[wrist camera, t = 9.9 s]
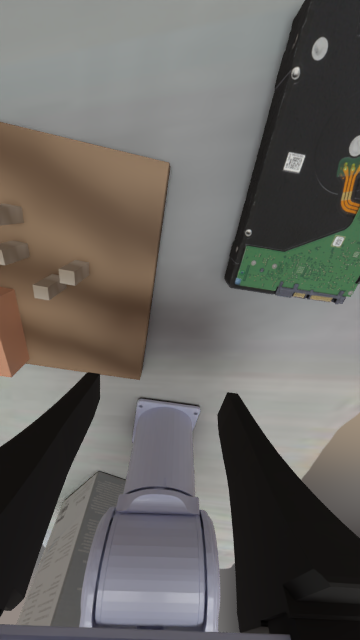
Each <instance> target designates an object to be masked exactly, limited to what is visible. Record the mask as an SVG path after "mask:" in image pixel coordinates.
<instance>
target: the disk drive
mask: <svg viewBox="0 0 360 640" xmlns="http://www.w3.org/2000/svg"><path fill="white" fill-rule="evenodd" d="M225 280H226V282H227V284H228V285H229V287H230V288H234V289H241V290H248V291H254V292H260V293H266V294H275V295H277V296H283V297H292V296H293V297H297V298H303V299H305V298H307V299H311V300H318V301H324V302H334V303H335V304H343V302H344V300H345V298H346V296H348V297H351V295H352V294H353V292H354V291H355V289H356V287H357V285H358V284H359V283H360V0H305V2H304V3H303V5H302V7H301V8H300V10H299V12H298V14H297V15H296V17H295V18H294V20H293V24H292V30H291V32H290V36H289V40H288V43H287V48H286V51H285V53H284V55H283V58H282V62H281V66H280V69H279V72H278V76H277V80H276V84H275V93H274V96H273V99H272V103H271V107H270V110H269V115H268V119H267V123H266V126H265V129H264V134H263V137H262V141H261V145H260V148H259V152H258V155H257V160H256V163H255V167H254V170H253V173H252V178H251V183H250V185H249V189H248V192H247V197H246V201H245V204H244V207H243V211H242V215H241V219H240V223H239V226H238V230H237V234H236V237H235V240H234V242H233V245H232V249H231V253H230V259H229V262H228V266H227V270H226V274H225Z"/></svg>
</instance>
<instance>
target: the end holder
mask: <svg viewBox="0 0 360 640" xmlns="http://www.w3.org/2000/svg"><path fill="white" fill-rule="evenodd" d="M28 360H29V354H28V349H27V345H26V340H25V336H24V331H23V327H22V322H21V317H20V313H19V308H18V304H17V299H16V295H15V290H14V289H10V288H4V287H0V376H6V377H12V376H13V375H14V374H15V373H16V372H17V371H18V370H19V369H20V368H21V367H22V366H23V365H24V364H25V363H26V362H27V361H28Z"/></svg>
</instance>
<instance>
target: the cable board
mask: <svg viewBox="0 0 360 640" xmlns="http://www.w3.org/2000/svg"><path fill="white" fill-rule="evenodd" d="M169 173H170V164H169V163H168V162H164V161H159V160H155V159H151V158H147V157H143V156H139V155H135V154H130V153H126V152H122V151H118V150H114V149H110V148H106V147H102V146H97V145H93V144H89V143H85V142H81V141H77V140H73V139H69V138H64V137H60V136H56V135H52V134H48V133H44V132H40V131H35V130H31V129H27V128H23V127H19V126H15V125H11V124H7V123H2V122H0V287H4V288H10V289H14V290H15V295H16V299H17V304H18V308H19V313H20V317H21V322H22V327H23V331H24V336H25V340H26V345H27V349H28V354H29V360H28V361H27V362H26V364H33V365H40V366H47V367H53V368H60V369H67V370H74V371H81V372H91V373H98V374H102V375H109V376H116V377H123V378H130V379H137V380H140V377H141V373H142V368H143V361H144V353H145V346H146V339H147V332H148V324H149V317H150V310H151V303H152V296H153V288H154V281H155V274H156V267H157V259H158V252H159V245H160V238H161V231H162V223H163V216H164V209H165V202H166V195H167V187H168V180H169Z"/></svg>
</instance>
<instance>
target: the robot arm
mask: <svg viewBox="0 0 360 640" xmlns="http://www.w3.org/2000/svg"><path fill="white" fill-rule="evenodd" d="M99 400H100V374H98V373H91V372H88V373H86V374H85V375H84V376H83V377H82V379H81V380H80V381H79V382H78V383H77V384H76V385H75V386H74V387H73V388H72V389H71V390H69V391H68V392H67V393H66V394H65V395H64V396H63V397H62V398H61V399H60V400H59V401H58V402H57V403H56V404H54V405H53V406H52V407H51V408H50V409H49V410H47V411H46V412H45V413H44V414H43V415H42V416H40V417H39V418H38V419H37V420H36V421H34V422H33V423H32V424H31V425H29V426H28V427H27V428H26V429H24V430H23V431H22V432H20V433H19V434H18V435H16V436H15V437H14V438H12V439H11V440H10V441H8V442H7V443H5V444H4V445H2V446H1V447H0V616H1V615H2V613H3V611H4V610H6V611H11V610H12V609H14V608H15V607H16V606H17V605H18V604H19V603H20V602H21V601H22V600H23V599H24V597H25V594H26V590H27V588H28V584H29V582H30V579H31V576H32V573H33V569H34V567H35V564H36V561H37V558H38V554H39V552H40V549H41V546H42V543H43V540H44V537H45V535H46V532H47V529H48V526H49V523H50V520H51V518H52V515H53V512H54V509H55V506H56V504H57V501H58V498H59V495H60V493H61V490H62V487H63V485H64V482H65V480H66V477H67V474H68V472H69V469H70V467H71V465H72V462H73V460H74V458H75V456H76V454H77V452H78V450H79V447H80V445H81V443H82V441H83V439H84V437H85V435H86V433H87V430H88V428H89V426H90V424H91V422H92V420H93V417H94V415H95V412H96V409H97V406H98V403H99ZM199 414H200V407H198V406H192V405H184V404H177V403H170V402H162V401H155V400H148V399H139V400H138V402H137V409H136V416H135V423H134V431H133V438H132V443H133V448H132V453H131V457H130V462H129V467H128V472H127V477H126V482H125V487H124V492H123V494H120V495H119V497H118V502H117V506H116V507H110V508H109V509H108V510H107V512H106V513H105V514H104V515H103V516H102V518H101V520H100V522H99V524H98V526H97V529H96V532H95V535H94V538H93V542H92V545H91V549H90V553H89V557H88V561H87V565H86V570H85V575H84V581H83V587H82V594H81V617H80V624H79V627H61V626H33V625H5V624H0V640H360V538H359V537H358V536H356V535H355V534H354V533H353V532H352V531H351V530H350V529H349V528H348V527H347V526H345V525H344V524H343V523H342V522H341V521H340V520H339V519H338V518H337V517H336V516H335V515H334V514H333V513H332V512H331V511H330V510H329V509H328V508H327V507H326V506H325V505H324V504H323V503H322V502H321V501H320V500H319V499H318V498H317V497H316V496H315V495H314V494H313V493H312V492H311V491H310V489H308V487H307V486H306V485H305V484H304V483H303V482H302V481H301V480H300V479H299V477H298V476H297V475H296V474H295V473H294V472H293V470H292V469H291V468H290V467H289V466H288V464H287V463H286V462H285V461H284V460H283V458H282V457H281V456H280V455H279V453H278V452H277V451H276V450H275V448H274V447H273V445H272V444H271V443H270V441H269V440H268V439H267V437H266V436H265V434H264V433H263V432H262V430H261V429H260V427H259V426H258V424H257V423H256V421H255V420H254V418H253V417H252V415H251V414H250V412H249V411H248V409H247V407H246V406H245V404H244V403H243V401H242V399H241V398H240V396H239V395H238V394H236V393H229V392H227V395H226V397H225V399H224V401H223V404H222V406H221V408H220V410H219V413H218V430H219V437H220V443H221V448H222V454H223V459H224V464H225V469H226V475H227V480H228V487H229V496H230V505H231V515H232V527H233V539H234V554H235V571H236V592H237V615H238V622H239V629H240V633H228V632H218V614H219V608H220V574H219V560H218V550H217V542H216V535H215V530H214V525H213V522H212V520H211V519H210V517H209V516H208V514H207V512H206V511H205V510H199V498H198V497H195V480H194V459H193V437H192V432H193V430H194V427H195V424H196V422H197V419H198V416H199Z"/></svg>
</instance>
